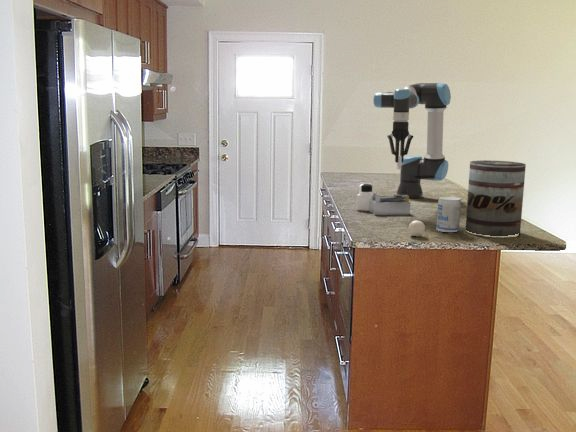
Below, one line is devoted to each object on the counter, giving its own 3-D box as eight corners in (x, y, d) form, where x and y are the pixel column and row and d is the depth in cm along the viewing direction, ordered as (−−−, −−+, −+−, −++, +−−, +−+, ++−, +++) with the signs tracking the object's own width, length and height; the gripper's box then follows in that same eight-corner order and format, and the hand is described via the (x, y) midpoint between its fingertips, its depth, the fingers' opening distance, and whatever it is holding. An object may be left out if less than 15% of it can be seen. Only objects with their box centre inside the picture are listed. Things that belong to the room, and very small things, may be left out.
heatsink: (403, 211, 328) (404, 192, 326) (409, 214, 318) (410, 195, 317) (369, 211, 326) (369, 192, 324) (374, 214, 316) (375, 195, 314)
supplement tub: (432, 231, 279) (434, 197, 277) (442, 228, 286) (444, 195, 284) (452, 234, 273) (455, 200, 271) (462, 231, 280) (465, 197, 278)
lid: (406, 197, 324) (406, 193, 323) (408, 198, 320) (408, 195, 320) (375, 199, 322) (375, 196, 322) (377, 201, 318) (377, 197, 318)
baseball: (406, 237, 267) (407, 221, 266) (409, 234, 273) (410, 218, 272) (422, 239, 264) (423, 222, 263) (425, 235, 271) (426, 219, 270)
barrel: (455, 231, 280) (459, 162, 274) (482, 225, 295) (487, 159, 289) (503, 240, 264) (509, 167, 258) (529, 233, 279) (535, 163, 273)
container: (373, 208, 334) (374, 183, 331) (371, 211, 326) (372, 185, 324) (359, 207, 336) (359, 182, 333) (355, 210, 329) (356, 184, 326)
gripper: (390, 121, 312) (388, 170, 317) (416, 121, 314) (414, 169, 319) (385, 120, 319) (384, 168, 324) (411, 120, 321) (409, 167, 326)
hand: (398, 169), depth 321 cm, fingers closed
